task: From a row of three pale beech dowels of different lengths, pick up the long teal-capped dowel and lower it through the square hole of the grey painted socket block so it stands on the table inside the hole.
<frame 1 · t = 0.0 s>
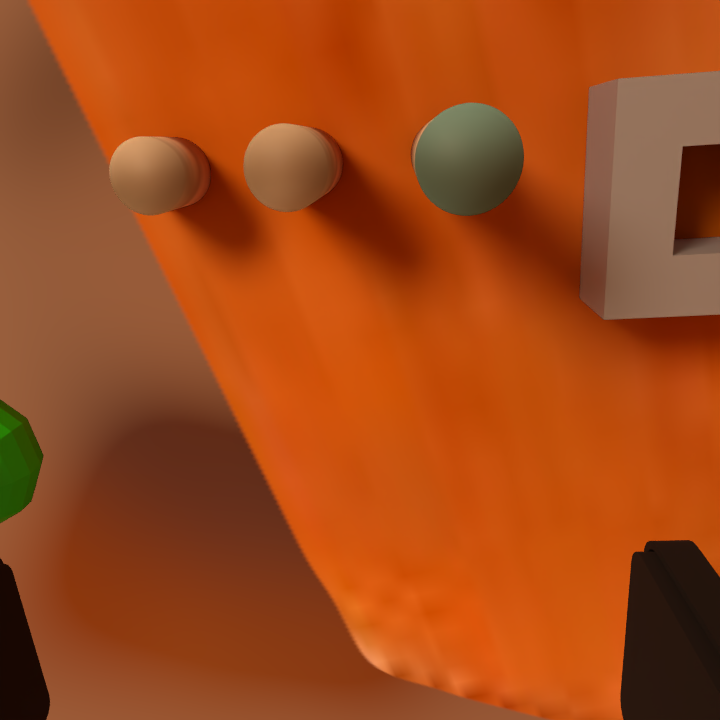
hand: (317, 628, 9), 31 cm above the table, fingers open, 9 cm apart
long dowel: (445, 154, 37), on the table
socket block: (690, 191, 36), on the table
medium dowel: (309, 163, 37), on the table
short dowel: (178, 172, 38), on the table
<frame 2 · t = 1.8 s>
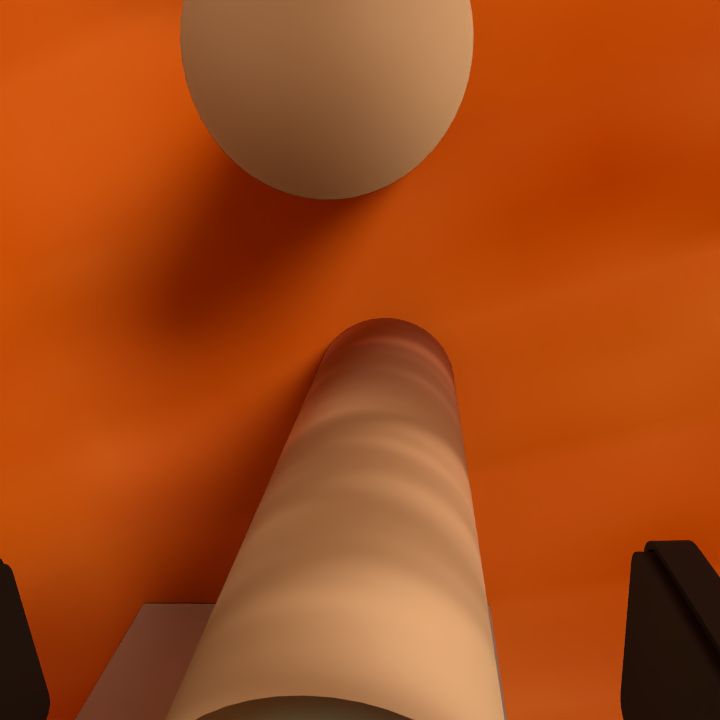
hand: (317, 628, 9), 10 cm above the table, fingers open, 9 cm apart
long dowel: (385, 383, 19), on the table
medium dowel: (367, 91, 16), on the table
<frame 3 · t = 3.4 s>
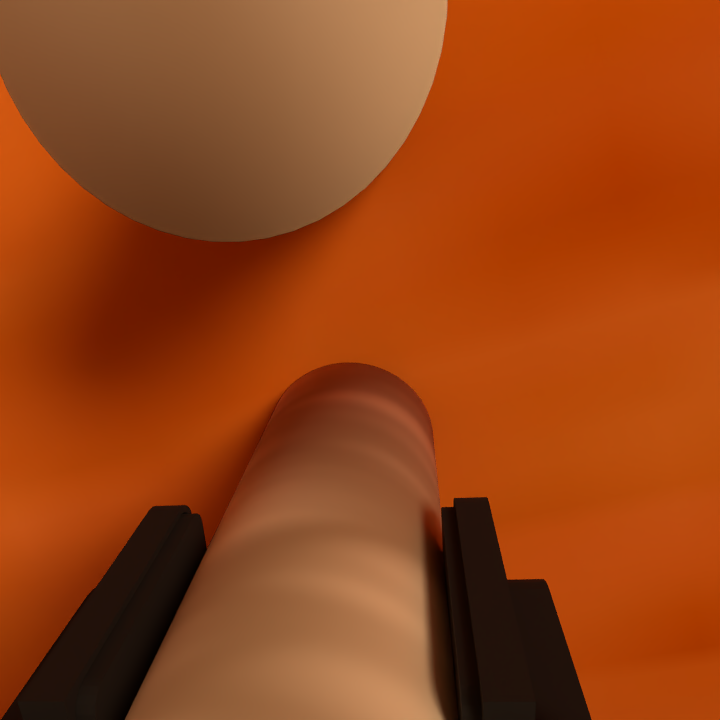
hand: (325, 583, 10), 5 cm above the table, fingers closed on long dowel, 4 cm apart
long dowel: (351, 439, 15), on the table, touching gripper
medium dowel: (322, 84, 13), on the table
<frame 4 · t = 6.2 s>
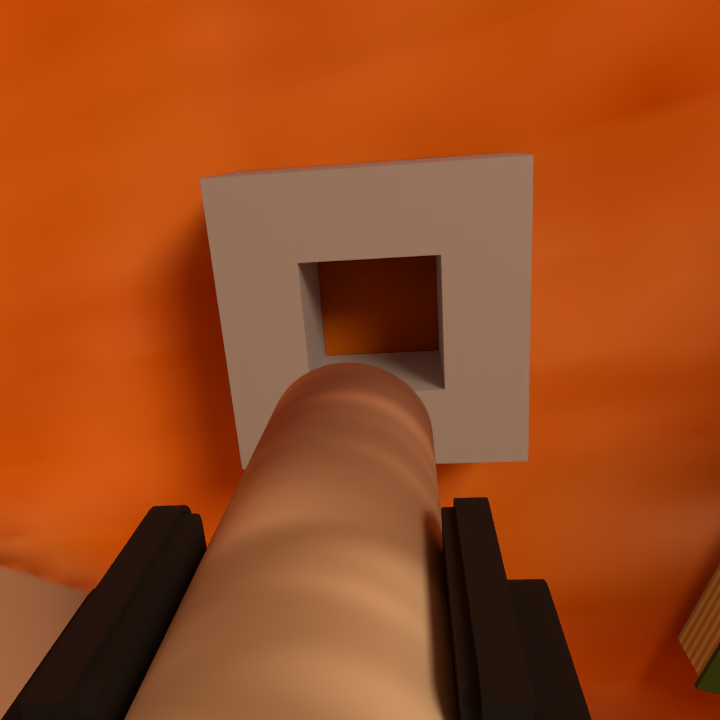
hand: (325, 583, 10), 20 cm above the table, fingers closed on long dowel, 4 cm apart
long dowel: (350, 439, 15), point 15 cm above the table, touching gripper
socket block: (378, 297, 29), on the table
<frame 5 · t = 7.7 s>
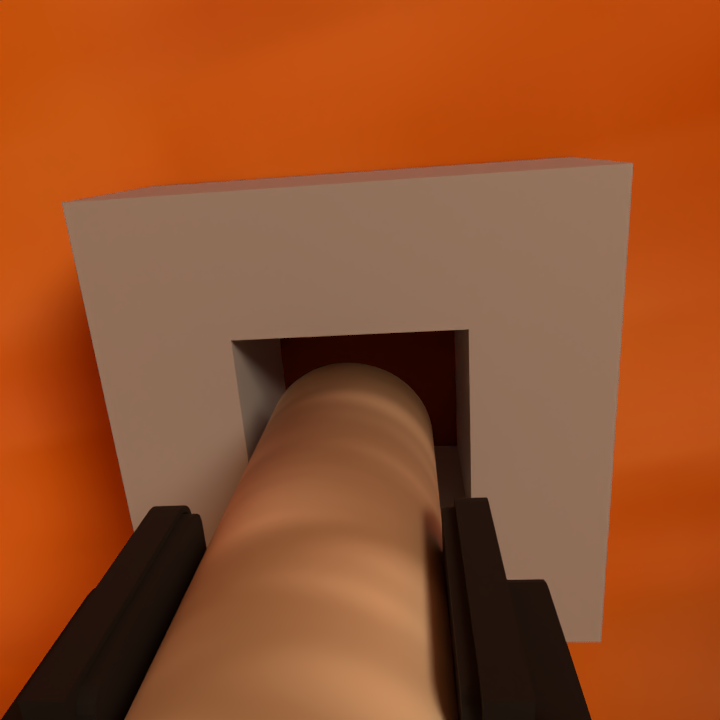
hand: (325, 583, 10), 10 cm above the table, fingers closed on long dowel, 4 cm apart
long dowel: (350, 439, 15), point 5 cm above the table, touching gripper
socket block: (368, 370, 20), on the table
when the fingers open (7 cm above the table, at t = 9.1 s): long dowel drops 2 cm, resting in socket block.
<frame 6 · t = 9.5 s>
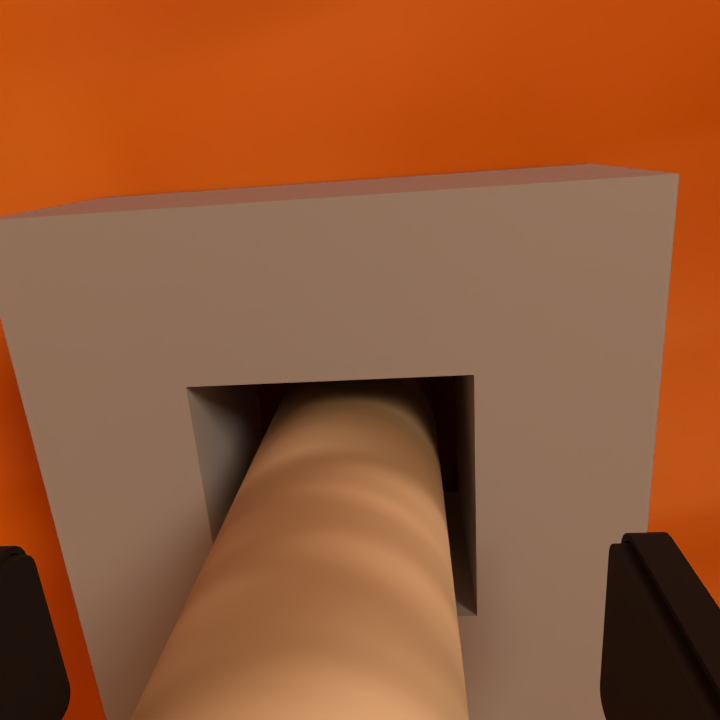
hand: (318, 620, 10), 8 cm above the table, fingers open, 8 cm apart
long dowel: (359, 405, 17), resting in socket block
socket block: (356, 407, 17), on the table
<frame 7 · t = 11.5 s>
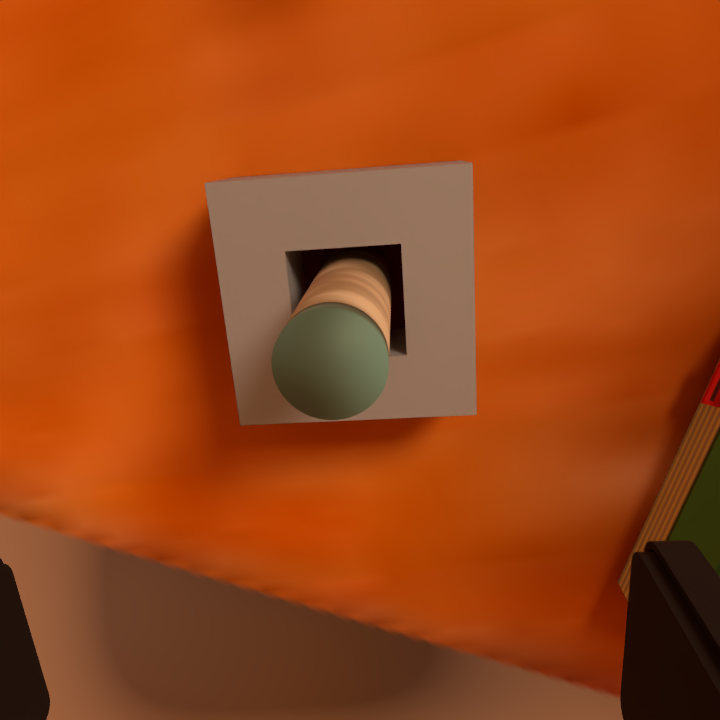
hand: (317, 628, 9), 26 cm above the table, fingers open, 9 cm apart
long dowel: (355, 281, 35), resting in socket block
socket block: (353, 282, 35), on the table
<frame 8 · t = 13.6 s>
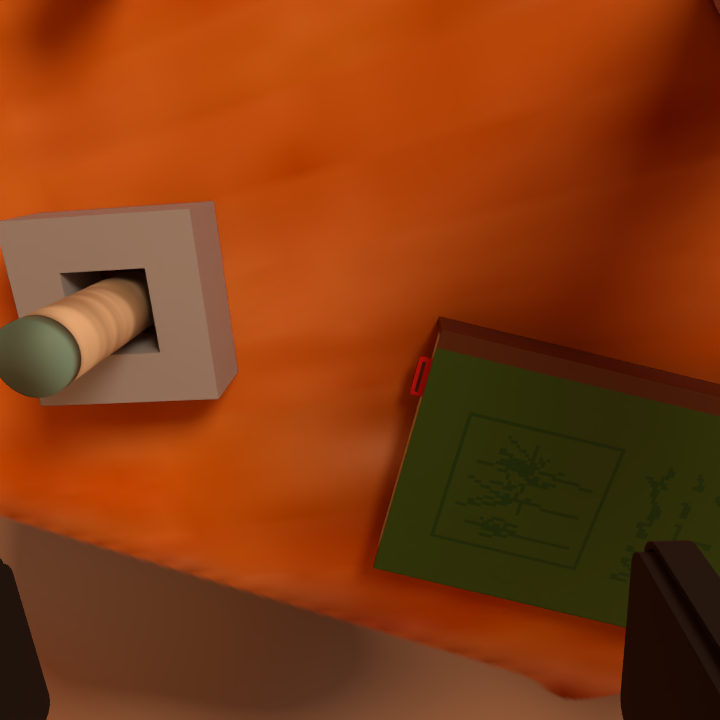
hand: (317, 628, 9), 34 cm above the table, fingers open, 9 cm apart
long dowel: (143, 294, 44), resting in socket block
hardcover book: (557, 469, 47), on the table
socket block: (142, 295, 44), on the table
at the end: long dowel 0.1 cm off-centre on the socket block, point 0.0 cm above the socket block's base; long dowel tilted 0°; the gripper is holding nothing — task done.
